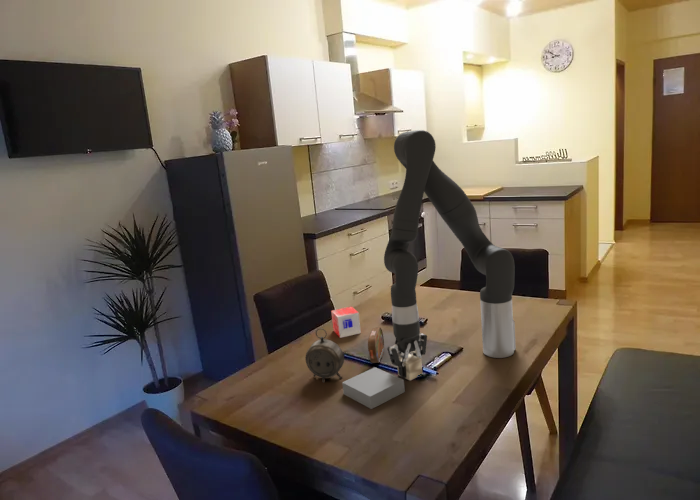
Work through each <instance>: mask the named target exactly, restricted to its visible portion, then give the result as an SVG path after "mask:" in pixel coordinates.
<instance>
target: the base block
mask: <svg viewBox="0 0 700 500" xmlns="http://www.w3.org/2000/svg"><path fill="white" fill-rule="evenodd" d="M341 386H342V390H343V392H342V393H343V395H344V396H347V398H350V399H352V400H354V401H355V402H358V403H359V404H361V405H363V406H364V407H366V408H369V409H370V410H373V409H374V408H376V407H378V406H380V405H382V404H384V403H386V402H388V401H390V400H392V399H395V398H397V397H398V396H399V395H401V394H403V393H405V392H406V391H405V390H406V389H405V379H404V378H402V377H401V378H400V376H399V377H398V376H396V375H394V374H391V373H390V372H387V371H384V370H382V369H380V368H377V367H375V366H373V367H372V368H370V369H368V370H366V371H364V372H362V373H359V374H357V375H354V376H353V377H351V378H349V379H347V380H344V381H342V385H341Z"/></svg>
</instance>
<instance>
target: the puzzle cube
mask: <svg viewBox="0 0 700 500" xmlns="http://www.w3.org/2000/svg"><path fill="white" fill-rule="evenodd" d="M330 312H331V321H332V328H333V329H332V330H333V332H334V333H335V334H336V335H337V336H338V338H346V337H350V336H353V335H359V334H361V333H362V331H361V324H360V322H361V321H360V313H359V311H358V310H356V309H355V308H354V307H353V306H347V307H341V308H338V309H333V310H330Z"/></svg>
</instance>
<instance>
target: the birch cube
mask: <svg viewBox="0 0 700 500" xmlns="http://www.w3.org/2000/svg"><path fill="white" fill-rule="evenodd" d="M401 361H402V358H401ZM422 363H423V362H422V357H421V358H419V357H416V356H414V355H412V353H411V354H410V353H409V354H408V358H407V359H406V364H405V366H406V375H407V377H406V378H404V380H405V379H406V380H408V381H412V380H414V379H416V378H418V377H419V376H418V375H420V374H422V373H423V365H422ZM396 367H397V368H398V366H396ZM397 375H398V376H399V377H401V376H400V375H399V371H398V370H397ZM422 375H423V374H422ZM417 376H418V377H417ZM420 376H421V375H420Z"/></svg>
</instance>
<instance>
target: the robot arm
mask: <svg viewBox="0 0 700 500" xmlns="http://www.w3.org/2000/svg"><path fill="white" fill-rule="evenodd" d="M436 147H437V145H436V140H435V138H434V137H433V135H432V134H431V133H430V132H429V131H427V130H424V129H417V130H408V131H405V132H401V133H400V134H398V136H397V137H396V139H394V144H393V151H394V154H395V157H396V159H397V160H398V161H399V163H400V164H401V165H402V166H403V167H404V169H405V178H404V181H403V184H402V185H403V186H402V189H401V191H400V193H399V197H398V198H397V201H396V204H395V207H394V212H393V219H392V226H391V227H392V228H391V235H390V236H389V239H388V241H387V245H386V247H385V251H384V255H383V256H384V257H383V262H384V263H383V264H384V267H385V269H386V270H387V271H388V272H389V273H391V274H394V275H395V282H394V283H393V284H391V287H390V300H391V319H392V331H393V335H394V337H395V341H394V344H393V345H391V346H388V347H387V348H386V349H387V353H388V355H389V359H390V362H391V364H392V365H394V366H396V367H397V366H398V367H397V372H398V371H399V375H400V376H399V375H398V376H399V377H401V378H402V379H405V378H406V377H407V375H406V366H405V364H406V359H407V358H408V354H410V353H411V355H414V356H416V357H419V358H421V359H422V356H425V355H426V354H427V353H426V352H427V344H428V343H427V342H428V340H427V339H428V336H427V334H424V333H422V332H421V328H420V327H421V326H420V318H419V317H420V315H419V308H418V303H417V302H418V301H417V291H416V288H417V287H416V286H417V282H418V276H419V263H418V260H417V258H416V256H415V255H414V253H412V252H409V251H408V249H409V246H410V243H412V242H415V241H416V239H417V237H418V230H419V221H420V215H421V209H422V208H421V207H422V202H423V197H424V194H425V195H426V197H427V199H429V201H430V203H431V204H432V205H433V207H434V208H435V210H436V211H437V213H438V214H439V216H440V217H441V219H442V220H443V221H444V223H445V225H447V227H448V228H449V230H450V231H451V233H453V235H454V236H455V237H456V239H458V241H459V242H460V244H461V245H462V246H463V248H464V250H465V251H466V253H467V255H468V257H469V259H470V261H471V263H472V264H473V266H474V268H475V269H476V271H478V272H479V273H481V274H482V275H484V276H485V282H486V283H485V286H484V287H482V288H481V289H480V290H479V291H480V292H479V301H480V318H481V320H480V321H481V337H482V339H481V341H482V352H483V354H484V356H487V357H489V358H495V359H496V358H497V359H502V358H508V357H511V356H512V355H514V354H515V350H516V349H517V348H516V328H515V327H516V325H515V324H516V322H515V320H514V317H513V316H514V315H513V313H514V312H513V292H514V290H515V270H516V269H515V268H516V267H515V266H516V265H515V260H514V256H513V254H512V252H510V251H509V250H508V249H506V248H503V247H500V246H497V245H495V244H493V242H491V240H490V239H489V238H488V237H487V236H486V234H485V233H484V231H483V229H482V228H481V225H480V223H479V219H478V213H477V211H476V207H475V206H474V204H473V203H472V201H471V199H470V198H469V196H467V194H466V193H465V191H464V190H463V188H461V186H459V185H458V183H456V181H454V180H453V179H452V178H451V177H449V176H448V174H446V173H445V172H444V171H443V170H441V168H439V166H438V165H437V164H436V163H435V161H434V158H435V153H436ZM401 358H402V361H401Z"/></svg>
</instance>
